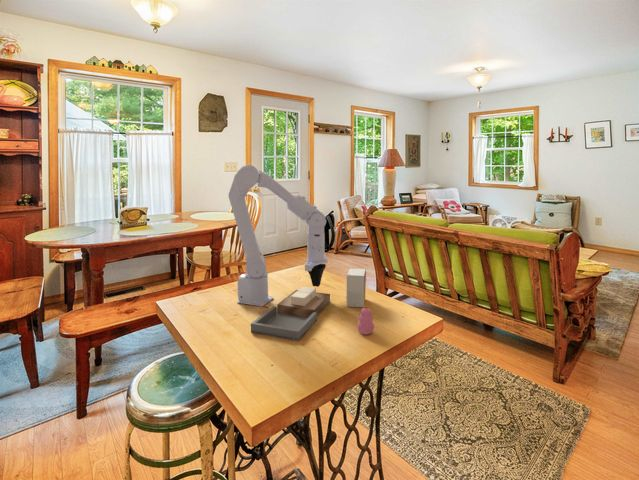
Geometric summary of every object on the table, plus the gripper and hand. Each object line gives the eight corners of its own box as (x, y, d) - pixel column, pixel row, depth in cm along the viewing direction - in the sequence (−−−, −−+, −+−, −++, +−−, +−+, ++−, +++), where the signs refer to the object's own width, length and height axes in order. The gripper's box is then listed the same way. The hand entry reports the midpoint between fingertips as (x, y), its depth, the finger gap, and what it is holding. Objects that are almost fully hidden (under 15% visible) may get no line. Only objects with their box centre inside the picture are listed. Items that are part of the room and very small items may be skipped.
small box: (363, 308, 115) (364, 276, 112) (346, 306, 116) (346, 275, 114) (365, 299, 122) (366, 268, 120) (349, 297, 123) (349, 267, 121)
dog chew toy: (358, 328, 101) (359, 303, 99) (375, 330, 99) (375, 305, 98) (355, 335, 97) (355, 309, 95) (372, 337, 95) (372, 311, 94)
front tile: (290, 304, 110) (290, 296, 110) (297, 298, 114) (296, 291, 114) (304, 306, 109) (304, 298, 108) (310, 300, 113) (310, 293, 112)
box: (251, 332, 98) (250, 323, 98) (273, 313, 110) (273, 306, 110) (298, 340, 94) (298, 331, 93) (316, 320, 105) (316, 312, 105)
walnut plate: (277, 313, 110) (277, 304, 110) (296, 298, 123) (296, 289, 123) (314, 319, 106) (314, 309, 106) (330, 302, 119) (330, 294, 118)
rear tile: (297, 298, 114) (297, 291, 114) (303, 293, 119) (303, 286, 118) (310, 300, 113) (310, 292, 112) (316, 295, 117) (315, 288, 117)
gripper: (319, 252, 112) (319, 294, 115) (334, 242, 125) (334, 280, 128) (298, 250, 115) (299, 291, 117) (315, 241, 128) (315, 278, 131)
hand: (316, 285), depth 123 cm, fingers closed
